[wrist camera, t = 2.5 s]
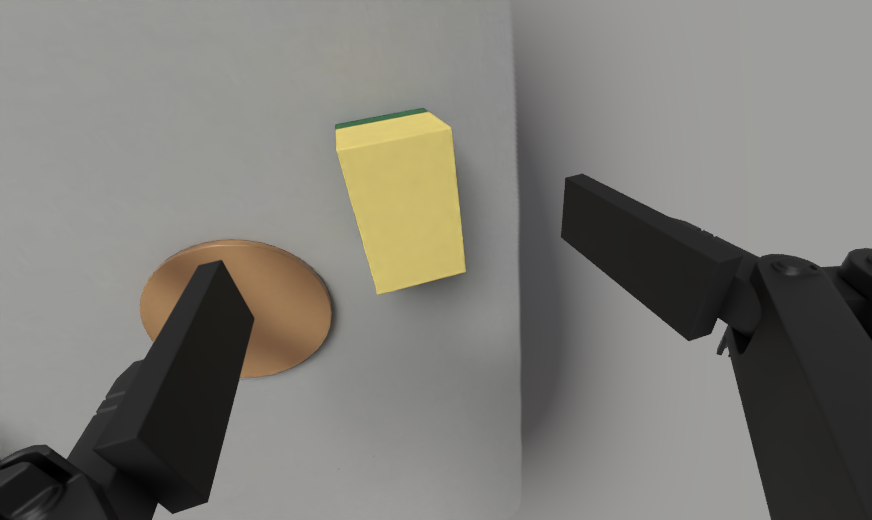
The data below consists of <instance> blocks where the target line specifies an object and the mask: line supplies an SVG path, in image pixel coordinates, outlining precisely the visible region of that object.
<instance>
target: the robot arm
mask: <svg viewBox="0 0 872 520" xmlns="http://www.w3.org/2000/svg"><path fill="white" fill-rule="evenodd" d="M561 237H562V238H563V239H564V240H565V241H566V242H568V243H569V244H570V245H571V246H572V247H574V248H575V249H576V250H577V251H579V252H580V253H581V254H582V255H584V256H585V257H586V258H587V259H589V260H590V261H591V262H592V263H593V264H595V265H596V266H597V267H598V268H599V269H601V270H602V271H603V272H605V273H606V274H607V275H608V276H609V277H610V278H612V279H613V280H614V281H615V282H617V283H618V284H619V285H620V286H622V287H623V288H624V289H625V290H626V291H628V292H629V293H630V294H631V295H633V296H634V297H635V298H636V299H637V300H639V301H640V302H641V303H642V304H644V305H645V306H646V307H647V308H649V309H650V310H651V311H652V312H653V313H655V314H656V315H657V316H658V317H660V318H661V319H662V320H663V321H665V322H666V323H667V324H668V325H669V326H671V327H672V328H673V329H675V331H677V332H678V333H679V334H681V335H682V336H683V337H684V338H685V339H687V340H688V341H691V340H694V339H697V338H700V337H703V336H706V335H709V334H711V333H712V330H713V328H714V325H715V323H716V321H717V318H719V319H721V320H722V321H724V322H725V323H727V324H728V326H727V329H726V331H725V333H724V335H723V338H722V340H721V342H720V344H719V347H718V349H717V354H718V355H722V353H723V351H724V349H725V348H727V347H728V349H729V355H728V356H729V357H731V361H732V365H733V369H734V373H735V377H736V381H737V385H738V389H739V393H740V397H741V401H742V405H743V409H744V413H745V417H746V421H747V425H748V429H749V433H750V437H751V441H752V445H753V449H754V453H755V457H756V461H757V465H758V469H759V473H760V477H761V481H762V485H763V489H764V493H765V497H766V501H767V505H768V509H769V513H770V517H771V520H872V249H869V248H864V249H855V250H853V251H851V252H849V254H848V255H847V257H846V258H845V260H844V262H843V263H842V265H841V266H834V267H820V266H818V265H816V264H814V263H812V262H810V261H808V260H805V259H802V258H798V257H795V256H789V255H784V254H769V255H765V256H762V257H757V256H755V255H753V254H751V253H749V252H747V251H745V250H743V249H741V248H739V247H737V246H735V245H733V244H731V243H729V242H727V241H725V240H723V239H721V238H719V237H717V236H716V237H714V236H713V234H710V233H709V232H706V231H704V230H703V231H701V229H700V228H698V227H696V226H694V225H692V224H690V223H688V222H686V221H682V220H678V219H674V218H671V217H668V216H666V215H664V214H662V213H660V212H658V211H656V210H654V209H652V208H650V207H648V206H646V205H644V204H642V203H640V202H638V201H636V200H634V199H632V198H630V197H628V196H626V195H624V194H622V193H620V192H618V191H616V190H614V189H612V188H610V187H608V186H606V185H604V184H602V183H600V182H598V181H596V180H594V179H592V178H590V177H588V176H586V175H584V174H580V175H575V176H571V177H567V178H565V191H564V205H563V218H562V231H561ZM254 320H255V318H254V316H253V314H252V313H251V311H250V309H249V307H248V305H247V304H246V302H245V300H244V298H243V297H242V295H241V293H240V291H239V289H238V288H237V286H236V284H235V282H234V281H233V279H232V277H231V275H230V273H229V272H228V270H227V268H226V266H225V264H224V263H223V261H222V260H218V261H214V262H210V263H205V264H201V265H198V267H197V268H196V270H195V272H194V273H193V275H192V277H191V279H190V280H189V282H188V284H187V286H186V287H185V289H184V291H183V293H182V294H181V296H180V298H179V300H178V301H177V303H176V305H175V307H174V308H173V310H172V312H171V314H170V315H169V317H168V319H167V321H166V322H165V324H164V326H163V327H162V329H161V331H160V333H159V334H158V336H157V338H156V340H155V341H154V343H153V345H152V347H151V348H150V350H149V352H148V354H147V355H146V357H145V359H144V360H140V361H136V362H134V363H133V364H132V365H131V366H130V367H129V368H128V369H127V370H125V371H124V372H123V373H122V374H121V375H120V376H119V377H118V378H117V379H116V381H115V382H114V384H113V386H112V387H111V389H110V390H109V392H108V394H107V395H106V400H103V402H102V403H101V405H100V406H99V408H98V410H97V411H96V412H97V415H94V416H93V418H92V419H91V421H90V423H89V424H88V426H87V427H86V429H85V431H84V432H83V434H82V435H81V437H80V439H79V440H78V442H77V443H76V445H75V447H74V448H73V450H72V451H71V453H70V455H69V456H68V458H67V459H65V458H64V457H62V456H61V455H59V454H58V453H57V452H55V451H54V450H53V449H51V448H50V447H48V446H47V445H33V446H30V447H27V448H25V449H22V450H19V451H16V452H14V453H13V454H11V455H9V456H7V457H6V458H4V459H2V460H0V520H152V518H153V515H154V512H155V509H156V507H157V504H158V503H159V504H161V505H162V506H163V507H164V508H166V509H167V510H168V511H169V512H171V513H172V514H174V513H177V512H180V511H183V510H186V509H189V508H192V507H195V506H198V505H201V504H204V503H207V502H208V499H209V496H210V492H211V488H212V484H213V480H214V476H215V472H216V468H217V464H218V460H219V456H220V453H221V449H222V445H223V441H224V437H225V433H226V429H227V425H228V421H229V417H230V413H231V410H232V406H233V402H234V398H235V394H236V390H237V386H238V382H239V378H240V374H241V370H242V367H243V363H244V359H245V355H246V351H247V347H248V343H249V339H250V335H251V331H252V327H253V324H254Z"/></svg>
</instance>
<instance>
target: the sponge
mask: <svg viewBox="0 0 872 520" xmlns="http://www.w3.org/2000/svg"><path fill="white" fill-rule="evenodd" d="M335 129H336V150H337V155H338V158H339V162H340V165H341V169H342V172H343V176H344V179H345V183H346V186H347V190H348V193H349V197H350V200H351V204H352V207H353V211H354V214H355V218H356V221H357V225H358V228H359V232H360V235H361V239H362V242H363V246H364V249H365V253H366V256H367V260H368V263H369V267H370V270H371V274H372V277H373V280H374V284H375V287H376V291H377V294H378V295H380V294H384V293H388V292H392V291H395V290H399V289H403V288H407V287H411V286H415V285H419V284H422V283H426V282H430V281H434V280H438V279H442V278H445V277H449V276H453V275H457V274H461V273H465V272H466V264H465V255H464V245H463V235H462V225H461V215H460V205H459V196H458V186H457V176H456V166H455V156H454V146H453V136H452V128H451V127H450V126H448V125H447V124H445V123H444V122H443V121H441V120H440V119H438V118H437V117H436V116H434V115H433V114H431V113H430V112H428V111H427V110H426V109H424V108H420V109H415V110H410V111H404V112H399V113H394V114H389V115H383V116H378V117H373V118H367V119H362V120H357V121H352V122H346V123H341V124H336V125H335Z"/></svg>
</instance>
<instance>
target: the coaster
mask: <svg viewBox="0 0 872 520" xmlns="http://www.w3.org/2000/svg"><path fill="white" fill-rule="evenodd" d="M218 260H222V261H223V263H224V264H225V266H226V268H227V270H228V272H229V273H230V275H231V277H232V279H233V281H234V282H235V284H236V286H237V288H238V289H239V291H240V293H241V295H242V297H243V298H244V300H245V302H246V304H247V305H248V307H249V309H250V311H251V313H252V314H253V316H254V318H255V320H254V324H253V327H252V331H251V335H250V339H249V343H248V347H247V351H246V355H245V359H244V363H243V367H242V370H241V374H240V378H252V377H261V376H267V375H271V374H275V373H278V372H281V371H285V370H287V369H289V368H292V367H294V366H296V365H297V364H299V363H301V362H303V361H304V360H305V359H307V358H308V357H310V356H311V355H312V354H313V353H314V352H315V351H316V350H317V349H318V348H319V347H320V345H321V344H322V343H323V341H324V339H325V338H326V336H327V334H328V331H329V329H330V324H331V316H332V307H331V300H330V296H329V293H328V291H327V288H326V286H325V284H324V283H323V281H322V280H321V278H320V277H319V276H318V275H317V274H316V272H315V271H314V270H313V269H312V268H311V267H309V266H308V265H307V264H306V263H305V262H303V261H302V260H300V259H299V258H297V257H296V256H294V255H292V254H290V253H288V252H286V251H284V250H282V249H279V248H276V247H274V246H271V245H267V244H263V243H259V242H253V241H246V240H218V241H212V242H206V243H202V244H199V245H195V246H192V247H189V248H187V249H185V250H182V251H180V252H178V253H177V254H175V255H173V256H171V257H170V258H169V259H167V260H166V261H165V262H164V263H162V264H161V265H160V266H159V267H158V269H157V270H156V271H155V272H154V273H153V274H152V276H151V277H150V279H149V280H148V282H147V284H146V285H145V287H144V290H143V293H142V295H141V302H140V313H141V319H142V322H143V325H144V328H145V330H146V332H147V334H148V335H149V337H150V338H151V339H152V341H153V342H154V341H155V340H156V338H157V336H158V334H159V333H160V331H161V329H162V327H163V326H164V324H165V322H166V321H167V319H168V317H169V315H170V314H171V312H172V310H173V308H174V307H175V305H176V303H177V301H178V300H179V298H180V296H181V294H182V293H183V291H184V289H185V287H186V286H187V284H188V282H189V280H190V279H191V277H192V275H193V273H194V272H195V270H196V268H197V267H198V265H201V264H205V263H210V262H214V261H218Z"/></svg>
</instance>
